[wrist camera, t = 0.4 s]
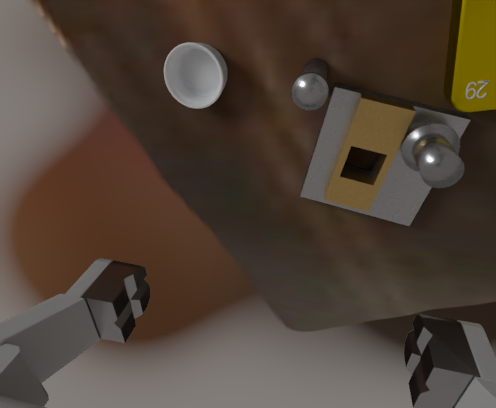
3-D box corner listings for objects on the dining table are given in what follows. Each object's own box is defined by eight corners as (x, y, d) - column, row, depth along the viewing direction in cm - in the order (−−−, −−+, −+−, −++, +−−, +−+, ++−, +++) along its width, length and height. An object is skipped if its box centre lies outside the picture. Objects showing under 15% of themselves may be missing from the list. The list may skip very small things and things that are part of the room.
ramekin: (208, 25, 47) (197, 28, 44) (242, 81, 50) (235, 88, 47) (164, 61, 51) (151, 66, 48) (198, 111, 54) (189, 119, 51)
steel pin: (306, 52, 46) (296, 69, 36) (334, 58, 46) (333, 78, 36) (298, 81, 48) (287, 105, 39) (325, 88, 48) (322, 114, 38)
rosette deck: (334, 82, 47) (333, 107, 38) (465, 114, 46) (498, 148, 36) (301, 189, 58) (293, 230, 48) (406, 217, 56) (420, 266, 46)
